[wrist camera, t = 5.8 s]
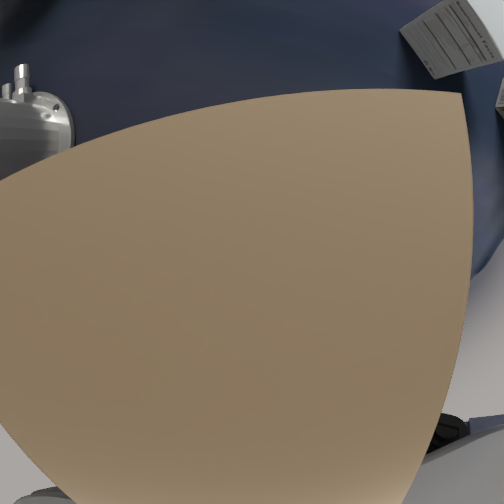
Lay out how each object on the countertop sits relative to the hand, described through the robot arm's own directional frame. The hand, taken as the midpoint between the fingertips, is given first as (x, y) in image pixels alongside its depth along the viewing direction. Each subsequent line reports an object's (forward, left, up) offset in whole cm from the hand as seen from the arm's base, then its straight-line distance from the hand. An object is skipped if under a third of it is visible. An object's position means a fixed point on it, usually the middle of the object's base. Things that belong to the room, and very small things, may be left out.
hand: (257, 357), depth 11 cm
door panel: (0, 0, -4) cm, 4 cm away
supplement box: (-19, +26, -21) cm, 38 cm away
